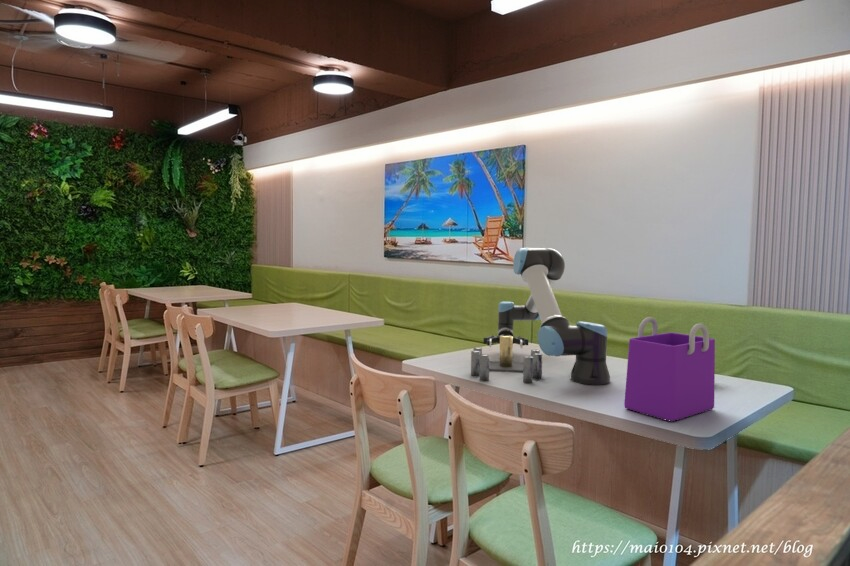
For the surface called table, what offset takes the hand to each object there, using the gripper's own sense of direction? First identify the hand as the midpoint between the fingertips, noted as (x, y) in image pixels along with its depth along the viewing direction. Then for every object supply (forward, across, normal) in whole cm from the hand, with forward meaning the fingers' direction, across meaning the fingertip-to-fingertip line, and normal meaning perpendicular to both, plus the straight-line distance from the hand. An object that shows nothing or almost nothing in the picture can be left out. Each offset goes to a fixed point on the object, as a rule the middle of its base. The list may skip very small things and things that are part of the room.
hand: (505, 344), depth 240 cm
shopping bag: (+54, -54, -10) cm, 77 cm away
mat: (+2, 0, -10) cm, 10 cm away
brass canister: (+2, 0, -9) cm, 9 cm away
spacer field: (+18, 0, -10) cm, 20 cm away
